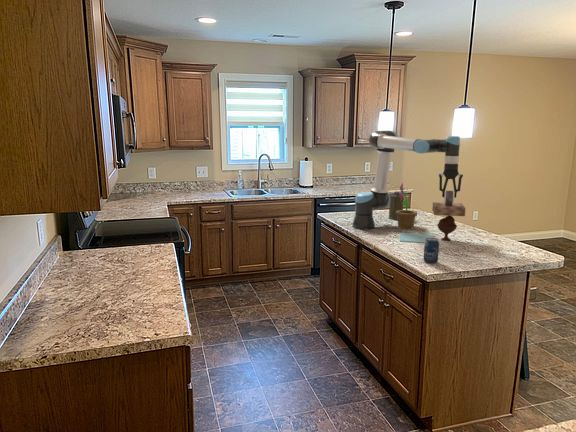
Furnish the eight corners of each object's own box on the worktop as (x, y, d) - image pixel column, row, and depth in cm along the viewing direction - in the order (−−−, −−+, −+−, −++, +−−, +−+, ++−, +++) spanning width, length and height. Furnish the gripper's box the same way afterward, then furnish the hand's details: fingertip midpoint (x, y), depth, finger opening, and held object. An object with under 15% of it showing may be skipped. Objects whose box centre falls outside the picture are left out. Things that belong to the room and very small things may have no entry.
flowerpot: (397, 223, 304) (399, 181, 298) (418, 225, 298) (420, 182, 292) (392, 227, 292) (394, 183, 286) (414, 229, 286) (417, 184, 280)
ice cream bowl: (452, 237, 265) (454, 213, 262) (457, 242, 254) (459, 217, 251) (434, 237, 266) (436, 213, 263) (439, 242, 255) (440, 217, 252)
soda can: (424, 263, 215) (425, 240, 212) (422, 259, 221) (424, 237, 219) (438, 264, 213) (440, 241, 211) (436, 260, 220) (438, 237, 218)
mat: (399, 241, 257) (399, 240, 257) (399, 233, 276) (399, 232, 276) (435, 243, 252) (435, 242, 252) (432, 235, 271) (432, 234, 271)
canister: (391, 216, 329) (392, 190, 325) (404, 218, 323) (406, 191, 319) (385, 218, 320) (387, 192, 316) (399, 220, 314) (400, 193, 310)
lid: (434, 215, 251) (435, 192, 248) (432, 209, 267) (433, 188, 264) (464, 216, 247) (466, 193, 244) (461, 211, 263) (462, 189, 260)
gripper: (436, 163, 249) (434, 203, 254) (468, 163, 245) (465, 204, 250) (435, 162, 256) (433, 201, 261) (466, 162, 252) (463, 202, 257)
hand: (448, 202), depth 255 cm, fingers closed on lid, 4 cm apart
